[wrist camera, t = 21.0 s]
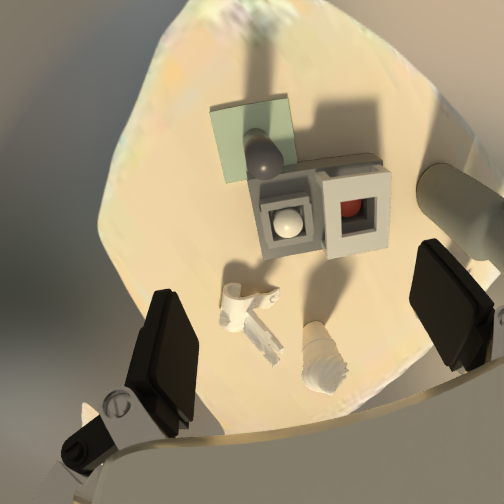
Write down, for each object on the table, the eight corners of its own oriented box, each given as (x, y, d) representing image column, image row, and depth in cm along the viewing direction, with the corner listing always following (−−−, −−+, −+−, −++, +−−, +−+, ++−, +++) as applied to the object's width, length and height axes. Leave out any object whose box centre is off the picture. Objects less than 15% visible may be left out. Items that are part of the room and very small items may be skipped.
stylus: (266, 125, 34) (280, 141, 24) (271, 150, 36) (286, 176, 26) (240, 130, 35) (242, 148, 24) (245, 155, 36) (250, 183, 26)
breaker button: (353, 182, 39) (361, 189, 37) (354, 206, 41) (361, 214, 39) (328, 186, 39) (335, 193, 37) (330, 210, 42) (336, 218, 39)
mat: (286, 98, 33) (287, 98, 33) (297, 169, 38) (298, 170, 38) (209, 112, 34) (209, 112, 33) (226, 182, 39) (225, 183, 38)
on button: (298, 203, 37) (301, 209, 35) (301, 227, 38) (304, 235, 37) (270, 208, 37) (272, 215, 35) (274, 232, 39) (276, 240, 37)
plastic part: (223, 281, 48) (221, 333, 38) (281, 287, 49) (291, 338, 40) (219, 313, 52) (216, 364, 42) (272, 318, 53) (279, 368, 43)
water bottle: (422, 154, 37) (561, 250, 14) (462, 164, 38) (584, 251, 14) (408, 212, 43) (515, 333, 19) (448, 217, 43) (547, 320, 20)
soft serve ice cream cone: (328, 340, 58) (346, 404, 44) (289, 342, 57) (301, 410, 44) (337, 312, 53) (361, 380, 40) (295, 314, 53) (311, 386, 39)
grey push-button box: (370, 152, 37) (394, 167, 31) (371, 225, 44) (390, 249, 37) (246, 171, 38) (248, 189, 32) (261, 245, 45) (265, 274, 38)
